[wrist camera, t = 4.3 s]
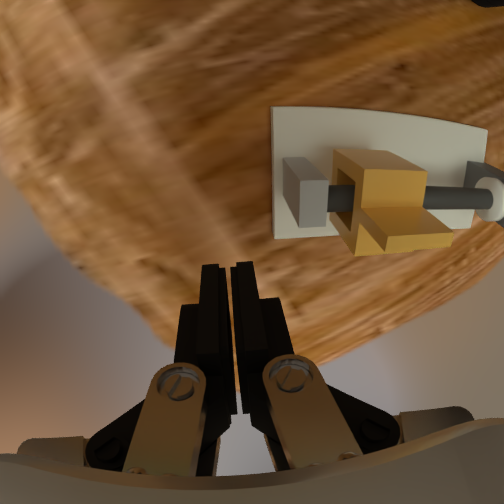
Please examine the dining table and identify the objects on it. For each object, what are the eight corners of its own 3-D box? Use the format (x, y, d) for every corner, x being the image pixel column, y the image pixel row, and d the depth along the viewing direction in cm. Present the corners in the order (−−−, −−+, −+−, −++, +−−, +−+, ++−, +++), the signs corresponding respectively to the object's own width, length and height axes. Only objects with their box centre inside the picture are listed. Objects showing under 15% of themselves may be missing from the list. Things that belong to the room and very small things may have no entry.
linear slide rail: (482, 128, 21) (543, 151, 14) (466, 222, 26) (514, 263, 19) (270, 106, 20) (294, 115, 13) (272, 232, 25) (290, 292, 18)
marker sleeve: (387, 150, 19) (463, 192, 12) (379, 217, 21) (440, 281, 14) (333, 148, 19) (394, 190, 12) (329, 219, 21) (376, 290, 14)
